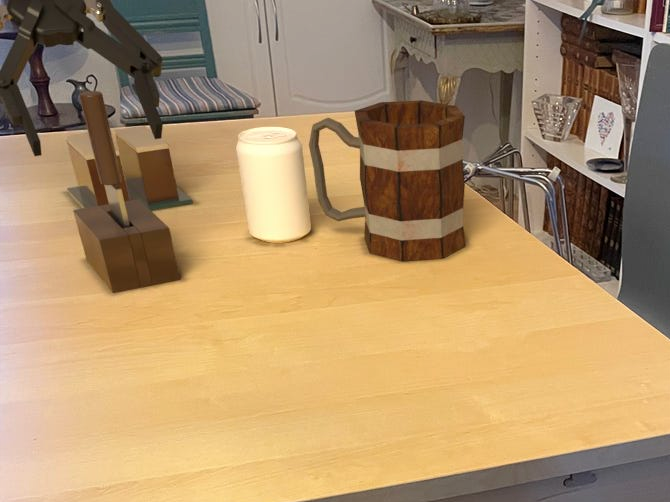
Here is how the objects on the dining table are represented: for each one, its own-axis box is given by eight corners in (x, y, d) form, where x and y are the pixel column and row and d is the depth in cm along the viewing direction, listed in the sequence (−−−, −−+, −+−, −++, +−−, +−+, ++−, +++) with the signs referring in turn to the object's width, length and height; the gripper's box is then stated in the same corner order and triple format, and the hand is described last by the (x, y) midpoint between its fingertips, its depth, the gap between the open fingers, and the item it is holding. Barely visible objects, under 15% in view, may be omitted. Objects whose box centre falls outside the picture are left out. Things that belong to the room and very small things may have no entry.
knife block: (86, 260, 116) (72, 209, 112) (150, 248, 119) (139, 199, 115) (113, 293, 109) (99, 240, 105) (180, 279, 112) (169, 227, 108)
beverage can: (237, 233, 124) (221, 133, 116) (289, 219, 128) (276, 122, 120) (271, 250, 119) (257, 147, 111) (323, 235, 124) (313, 135, 115)
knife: (115, 263, 116) (72, 89, 103) (135, 260, 116) (94, 86, 104) (129, 280, 112) (86, 100, 99) (149, 276, 113) (109, 97, 100)
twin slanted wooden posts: (67, 192, 136) (52, 134, 131) (162, 178, 142) (151, 122, 137) (92, 220, 127) (77, 159, 122) (192, 203, 133) (181, 144, 128)
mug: (475, 228, 126) (475, 102, 116) (455, 265, 116) (453, 131, 106) (334, 219, 128) (322, 95, 118) (303, 254, 118) (287, 122, 108)
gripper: (136, -21, 113) (202, 144, 114) (-88, -5, 104) (-14, 176, 104) (139, -72, 107) (209, 104, 107) (-101, -59, 97) (-22, 134, 97)
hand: (99, 140), depth 106 cm, fingers open, 13 cm apart
